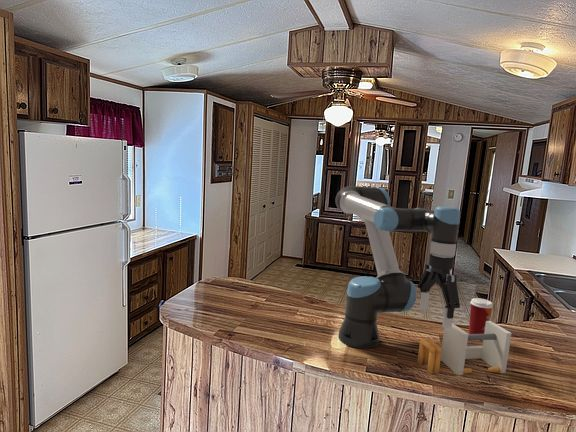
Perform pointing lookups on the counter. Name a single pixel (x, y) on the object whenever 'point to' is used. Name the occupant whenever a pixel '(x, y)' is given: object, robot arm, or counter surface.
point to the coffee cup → (479, 315)
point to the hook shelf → (476, 348)
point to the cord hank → (429, 355)
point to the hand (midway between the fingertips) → (434, 318)
